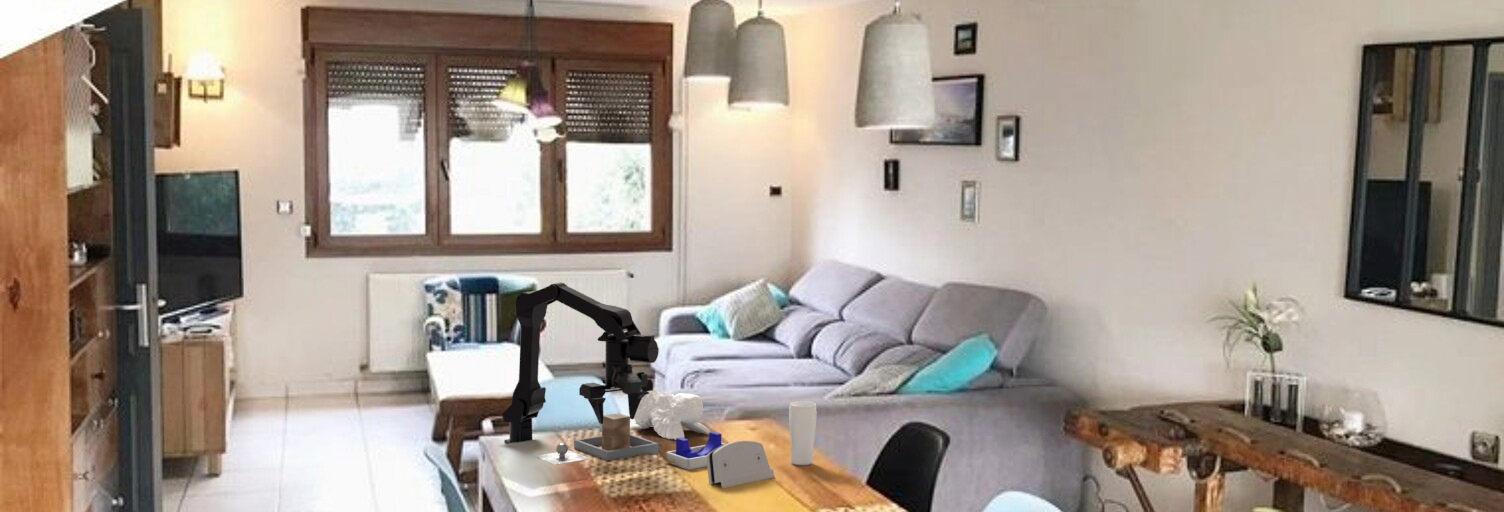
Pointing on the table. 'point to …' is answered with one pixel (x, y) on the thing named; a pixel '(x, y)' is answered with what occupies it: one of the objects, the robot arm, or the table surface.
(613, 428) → the wooden block
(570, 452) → the stud plate
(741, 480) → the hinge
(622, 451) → the tray
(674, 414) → the cherub figurine
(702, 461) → the clip organiser
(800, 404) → the drinking glass
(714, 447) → the cable clip
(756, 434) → the table surface
